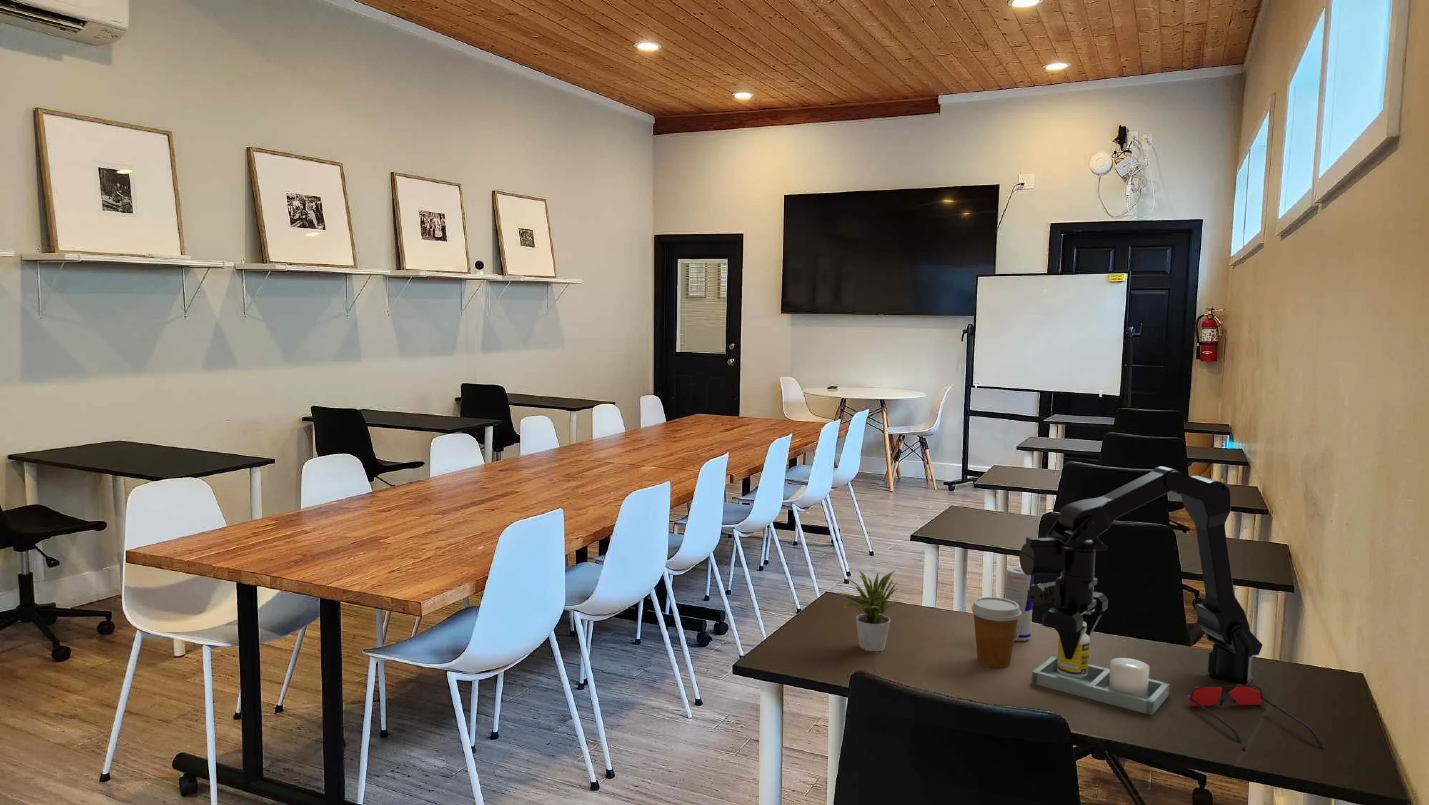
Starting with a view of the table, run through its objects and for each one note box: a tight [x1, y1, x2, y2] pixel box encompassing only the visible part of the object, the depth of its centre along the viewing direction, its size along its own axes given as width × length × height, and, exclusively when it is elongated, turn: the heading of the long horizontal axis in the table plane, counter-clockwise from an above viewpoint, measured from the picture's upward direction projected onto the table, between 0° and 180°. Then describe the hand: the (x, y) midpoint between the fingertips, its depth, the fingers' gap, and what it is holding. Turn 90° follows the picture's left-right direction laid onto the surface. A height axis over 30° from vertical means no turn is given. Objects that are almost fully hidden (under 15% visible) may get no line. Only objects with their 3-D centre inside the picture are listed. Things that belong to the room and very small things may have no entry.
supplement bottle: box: [1057, 621, 1091, 678], centre depth 174 cm, size 5×5×10 cm
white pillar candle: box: [1109, 657, 1150, 699], centre depth 168 cm, size 6×6×6 cm
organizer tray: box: [1031, 655, 1170, 716], centre depth 172 cm, size 21×11×3 cm, turn 50°
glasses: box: [1186, 684, 1326, 752], centre depth 158 cm, size 14×16×5 cm
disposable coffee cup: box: [971, 596, 1021, 669], centre depth 186 cm, size 10×10×12 cm
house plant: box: [837, 568, 903, 652], centre depth 194 cm, size 14×14×16 cm
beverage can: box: [1004, 566, 1035, 642], centre depth 200 cm, size 6×6×15 cm
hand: (1073, 654), depth 174 cm, fingers closed on supplement bottle, 5 cm apart
